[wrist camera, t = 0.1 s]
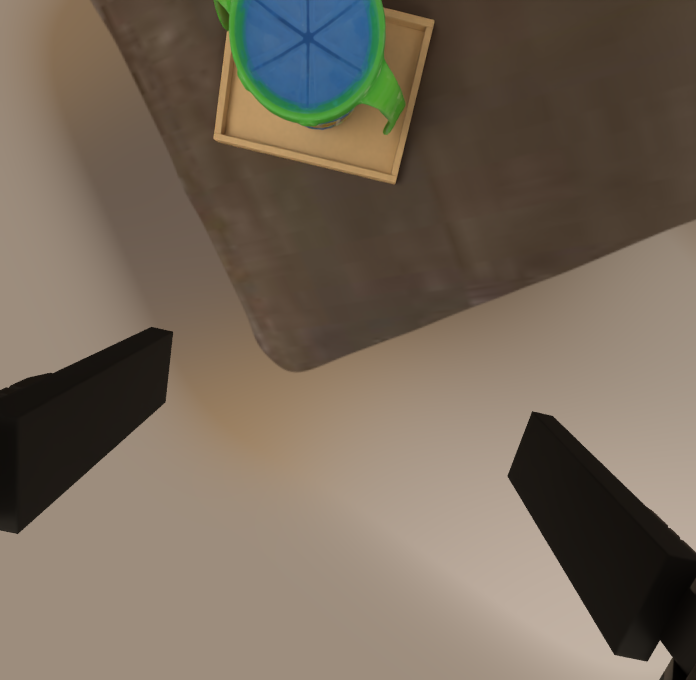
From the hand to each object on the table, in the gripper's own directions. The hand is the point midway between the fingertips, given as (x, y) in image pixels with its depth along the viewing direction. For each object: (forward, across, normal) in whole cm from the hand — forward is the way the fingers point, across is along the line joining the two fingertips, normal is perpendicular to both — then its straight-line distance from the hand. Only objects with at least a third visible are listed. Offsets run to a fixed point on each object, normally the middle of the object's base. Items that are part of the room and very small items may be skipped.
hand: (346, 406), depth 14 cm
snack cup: (+28, -7, +17) cm, 34 cm away
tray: (+28, -7, +17) cm, 34 cm away
